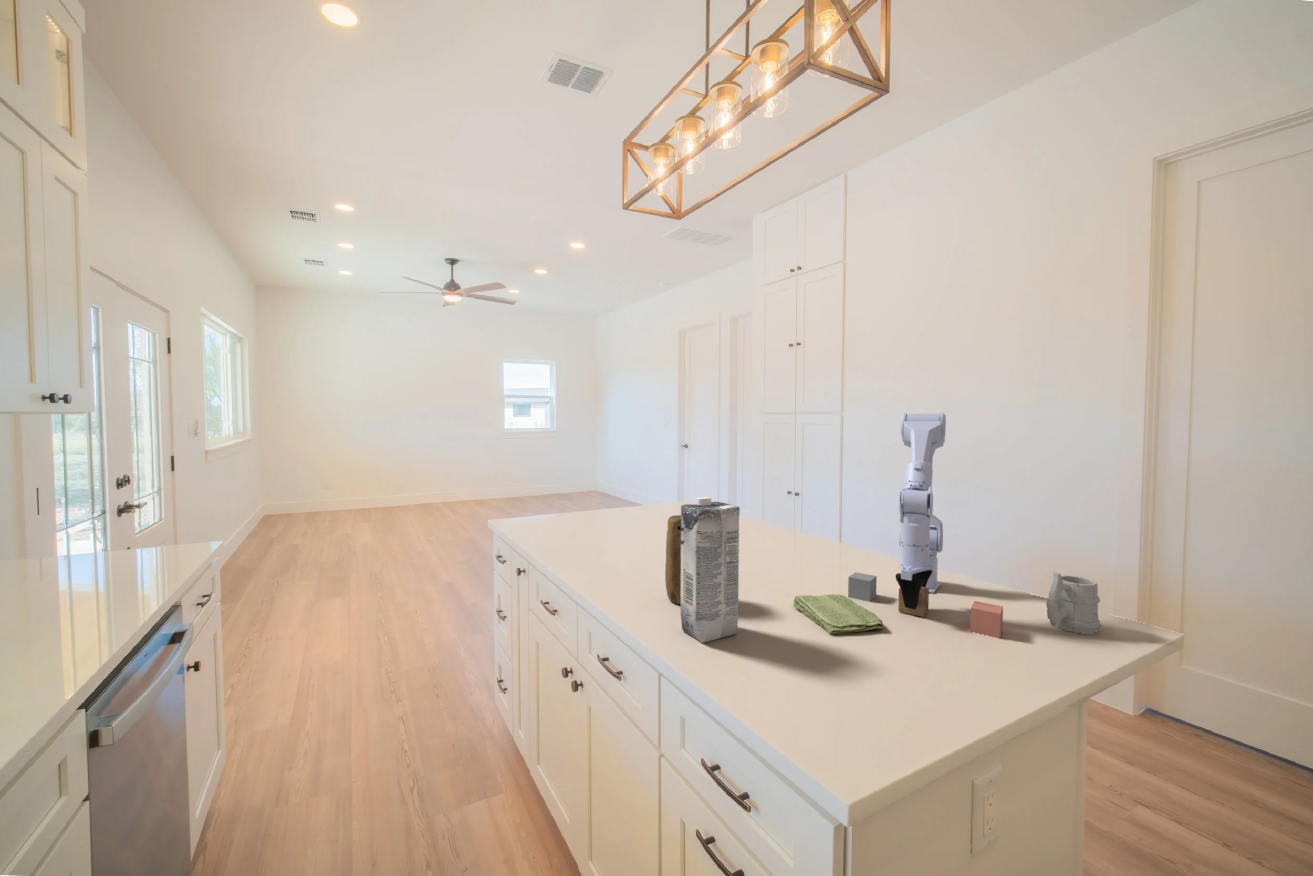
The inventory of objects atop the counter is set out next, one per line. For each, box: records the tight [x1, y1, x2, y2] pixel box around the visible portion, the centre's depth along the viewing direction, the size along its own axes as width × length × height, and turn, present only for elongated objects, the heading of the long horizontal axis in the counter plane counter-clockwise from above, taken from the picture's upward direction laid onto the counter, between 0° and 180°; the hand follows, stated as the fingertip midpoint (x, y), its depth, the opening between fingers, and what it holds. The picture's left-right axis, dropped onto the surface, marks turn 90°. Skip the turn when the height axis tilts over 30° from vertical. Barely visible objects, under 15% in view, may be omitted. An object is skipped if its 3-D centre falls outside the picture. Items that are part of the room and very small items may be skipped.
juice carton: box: [680, 496, 741, 644], centre depth 104 cm, size 9×10×27 cm
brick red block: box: [969, 600, 1004, 639], centre depth 106 cm, size 5×5×5 cm
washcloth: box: [793, 593, 885, 635], centre depth 113 cm, size 13×18×3 cm
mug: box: [1045, 571, 1102, 635], centre depth 107 cm, size 8×12×12 cm, turn 108°
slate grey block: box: [847, 571, 877, 603], centre depth 126 cm, size 5×5×5 cm
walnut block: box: [897, 587, 930, 618], centre depth 116 cm, size 5×5×5 cm
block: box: [664, 514, 681, 605], centre depth 123 cm, size 11×8×20 cm
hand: (913, 604), depth 117 cm, fingers closed on walnut block, 5 cm apart
